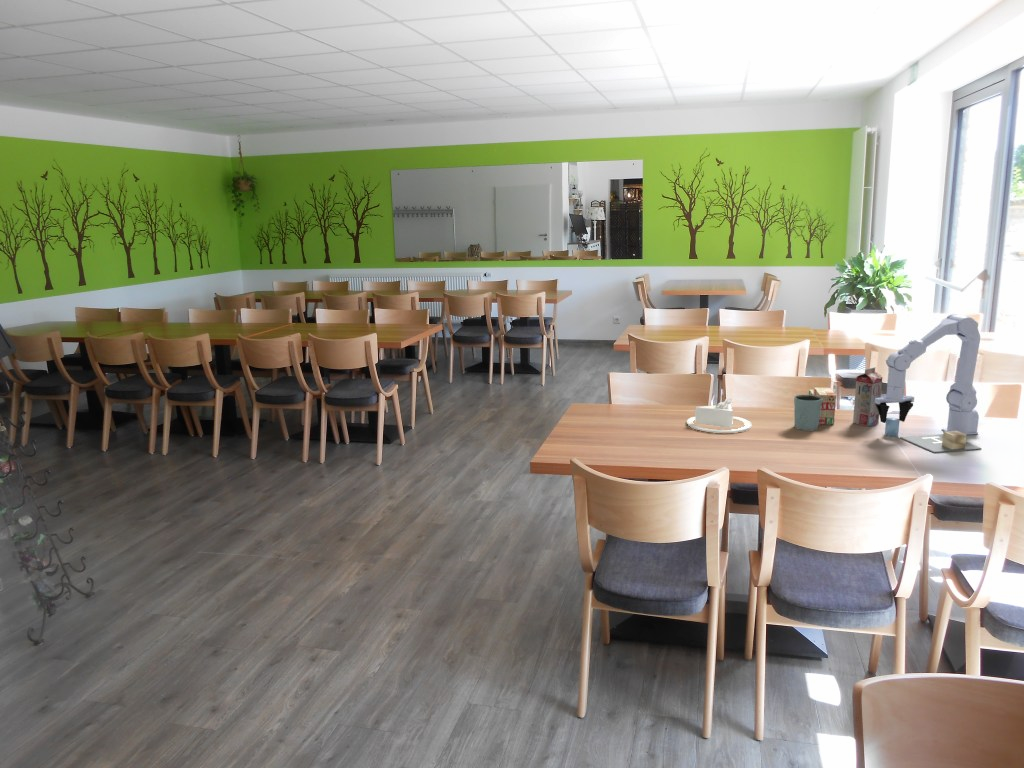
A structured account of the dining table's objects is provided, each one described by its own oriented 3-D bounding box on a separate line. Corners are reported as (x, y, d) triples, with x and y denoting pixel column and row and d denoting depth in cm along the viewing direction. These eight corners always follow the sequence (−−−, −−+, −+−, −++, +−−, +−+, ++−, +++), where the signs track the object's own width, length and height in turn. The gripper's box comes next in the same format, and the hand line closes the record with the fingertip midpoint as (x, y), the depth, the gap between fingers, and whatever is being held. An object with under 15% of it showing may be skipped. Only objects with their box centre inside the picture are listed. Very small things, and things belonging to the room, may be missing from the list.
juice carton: (878, 423, 297) (883, 368, 292) (868, 426, 293) (873, 370, 289) (862, 420, 302) (866, 366, 298) (852, 422, 299) (857, 368, 294)
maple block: (954, 444, 268) (956, 430, 267) (965, 448, 263) (966, 434, 262) (941, 445, 267) (943, 431, 266) (952, 449, 262) (953, 435, 261)
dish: (747, 418, 310) (748, 391, 308) (755, 435, 286) (756, 406, 284) (685, 416, 315) (686, 390, 312) (688, 433, 291) (689, 405, 288)
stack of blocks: (807, 410, 319) (809, 382, 316) (823, 411, 317) (825, 382, 315) (817, 424, 298) (819, 394, 295) (834, 425, 297) (836, 394, 294)
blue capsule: (893, 432, 285) (894, 417, 284) (900, 435, 281) (902, 420, 279) (882, 433, 284) (883, 417, 283) (889, 436, 280) (891, 421, 279)
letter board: (944, 435, 280) (944, 433, 280) (981, 449, 263) (981, 448, 263) (900, 438, 278) (900, 437, 278) (934, 453, 260) (934, 451, 260)
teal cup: (791, 429, 292) (793, 399, 289) (792, 423, 301) (794, 393, 298) (820, 432, 288) (822, 401, 285) (820, 425, 297) (822, 395, 294)
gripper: (906, 382, 283) (903, 417, 286) (871, 384, 281) (867, 419, 284) (919, 386, 276) (915, 422, 279) (882, 388, 274) (879, 424, 277)
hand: (892, 421), depth 281 cm, fingers open, 7 cm apart
